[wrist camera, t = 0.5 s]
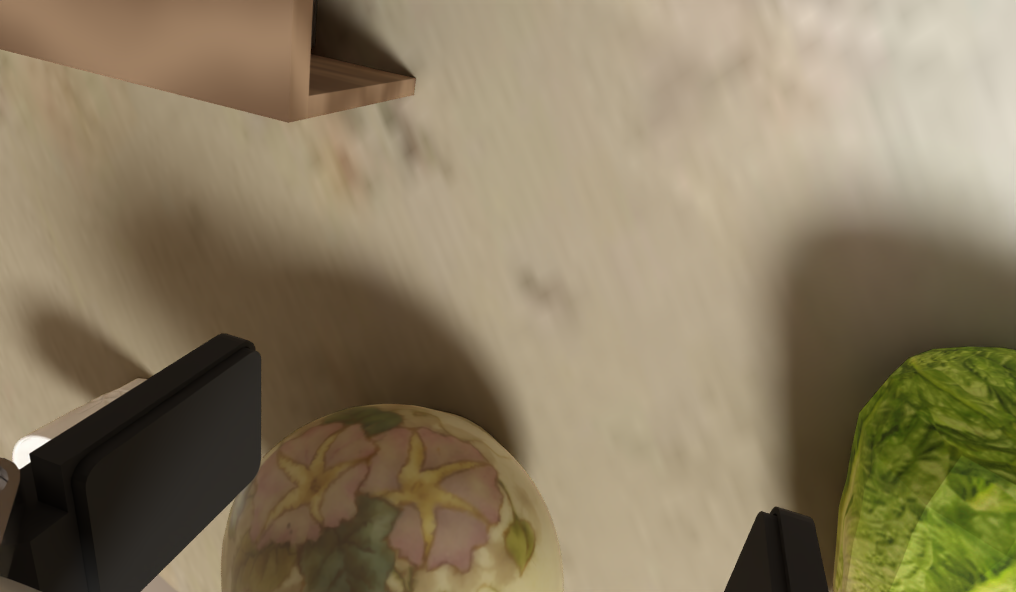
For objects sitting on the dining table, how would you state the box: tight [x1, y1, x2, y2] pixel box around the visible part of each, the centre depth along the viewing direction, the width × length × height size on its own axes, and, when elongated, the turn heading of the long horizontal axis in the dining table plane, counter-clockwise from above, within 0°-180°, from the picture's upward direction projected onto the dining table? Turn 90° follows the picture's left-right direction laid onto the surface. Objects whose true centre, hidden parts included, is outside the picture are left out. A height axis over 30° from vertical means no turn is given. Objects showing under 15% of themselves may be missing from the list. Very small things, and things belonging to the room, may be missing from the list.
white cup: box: [12, 378, 147, 469], centre depth 53 cm, size 8×8×10 cm
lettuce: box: [833, 346, 1016, 592], centre depth 35 cm, size 14×24×15 cm
